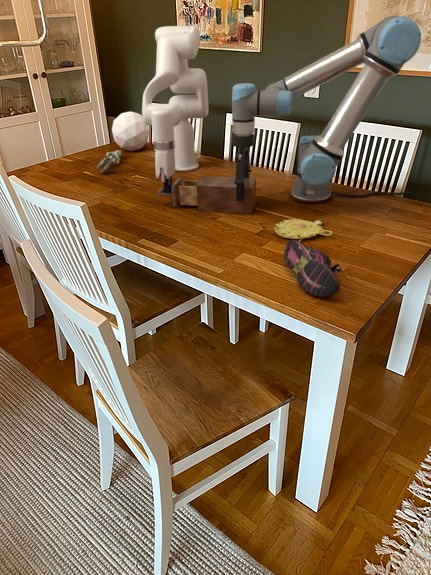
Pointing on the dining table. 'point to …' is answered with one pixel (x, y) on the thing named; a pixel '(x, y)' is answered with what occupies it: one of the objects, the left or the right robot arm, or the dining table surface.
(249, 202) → the dark brown low box
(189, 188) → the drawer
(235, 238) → the dining table surface
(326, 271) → the athletic shoe
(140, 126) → the sphere
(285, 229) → the decorative object
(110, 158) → the figurine
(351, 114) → the right robot arm
